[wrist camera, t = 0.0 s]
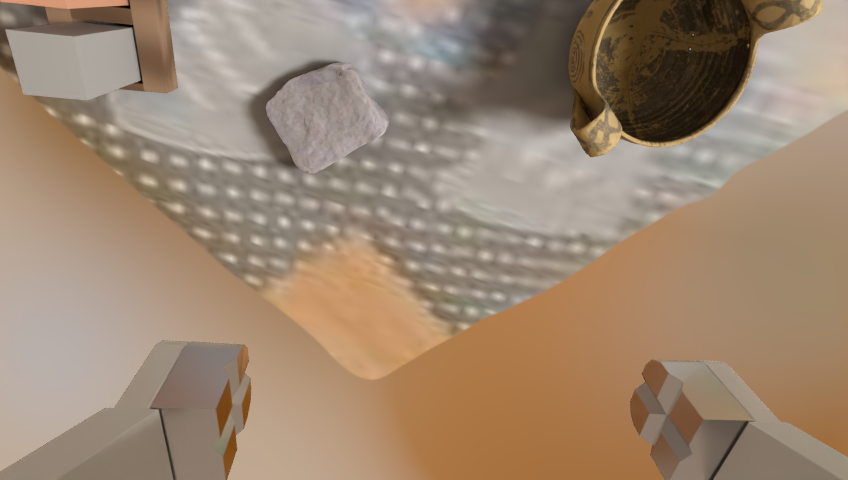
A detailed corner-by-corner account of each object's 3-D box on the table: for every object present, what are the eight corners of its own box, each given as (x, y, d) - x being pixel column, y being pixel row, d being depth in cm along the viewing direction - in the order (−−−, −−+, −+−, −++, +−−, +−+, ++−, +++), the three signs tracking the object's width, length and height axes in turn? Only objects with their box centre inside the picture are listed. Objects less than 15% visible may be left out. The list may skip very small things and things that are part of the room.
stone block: (264, 102, 55) (311, 176, 57) (249, 102, 50) (302, 183, 53) (350, 48, 53) (395, 126, 56) (343, 43, 48) (392, 129, 51)
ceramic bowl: (568, 163, 59) (621, 213, 46) (500, 45, 52) (539, 64, 38) (739, 52, 54) (853, 73, 41) (690, -95, 47) (809, -128, 34)
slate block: (78, 21, 46) (5, 29, 37) (133, 27, 46) (73, 36, 37) (90, 75, 48) (23, 94, 39) (141, 80, 48) (87, 100, 40)
